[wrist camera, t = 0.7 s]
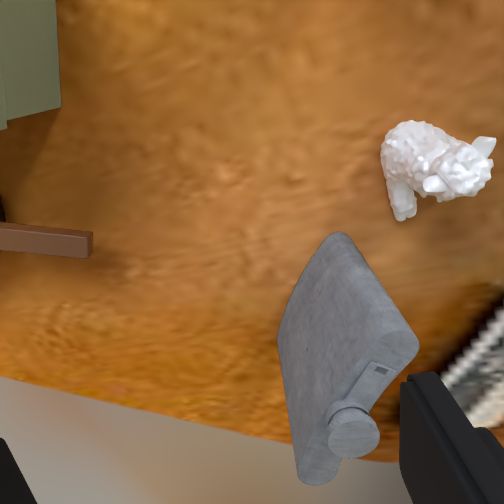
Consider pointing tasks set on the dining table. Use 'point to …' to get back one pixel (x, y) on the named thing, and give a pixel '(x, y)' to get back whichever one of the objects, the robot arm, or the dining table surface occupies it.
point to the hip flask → (338, 357)
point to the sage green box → (28, 58)
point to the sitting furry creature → (431, 165)
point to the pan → (44, 239)
